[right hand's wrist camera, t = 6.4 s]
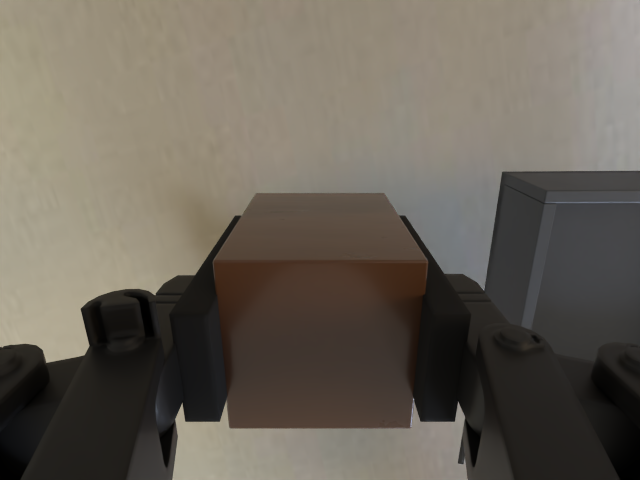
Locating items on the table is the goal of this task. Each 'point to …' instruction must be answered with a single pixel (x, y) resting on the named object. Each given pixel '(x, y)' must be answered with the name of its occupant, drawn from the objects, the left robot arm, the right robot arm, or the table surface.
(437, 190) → the table surface
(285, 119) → the table surface
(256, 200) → the walnut block
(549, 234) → the tote
